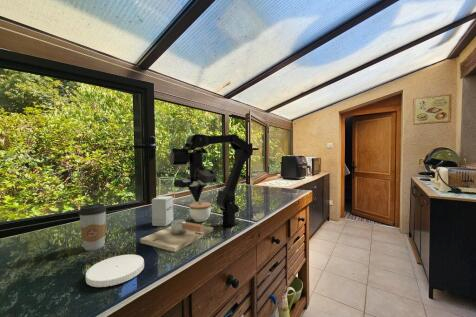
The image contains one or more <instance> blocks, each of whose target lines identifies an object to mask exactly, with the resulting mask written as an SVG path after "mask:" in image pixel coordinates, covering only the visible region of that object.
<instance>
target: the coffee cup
mask: <svg viewBox="0 0 476 317" xmlns="http://www.w3.org/2000/svg"><path fill="white" fill-rule="evenodd" d="M106 214H107V206H106V205H105V204H104V203H93V204H87V205H83V206H80V209H79V211H78V215H79V220H80V222H79V223H80V230H81V239H82V245H83V249H84V250H85V251H87V252H88V251H96V250H99V249H101V248H103V247H104V246H105V245H106V244H105V241H106V228H107V227H106V226H107V225H106V224H107V223H106V221H107V220H106V219H107V218H106V216H107V215H106Z"/></svg>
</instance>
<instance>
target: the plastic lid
mask: <svg viewBox="0 0 476 317" xmlns="http://www.w3.org/2000/svg"><path fill="white" fill-rule="evenodd" d="M144 268H145V260H144V258H143V257H142V256H141V255H138V254H121V255H116V256H111V257H108V258H106V259H104V260H100V261H99V262H97V263H95V264H93V265H92V266H91V267H89V268H88V269H87V270H86V273H85V282H86V284H87V285H89V286H90V287H95V288H106V287H109V286H110V287H112V286H115V285H120V284H122V283H125V282H127V281H129V280H131V279H133V278H135V277H137V276H139V274H140V273H142V271H143V270H144Z"/></svg>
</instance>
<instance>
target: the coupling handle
mask: <svg viewBox="0 0 476 317" xmlns="http://www.w3.org/2000/svg"><path fill="white" fill-rule="evenodd" d="M170 226H171V234H173V235H180V234H184V233H186V229H187V230H192V231H197V232H202V231H204V226H205V225H204V224H199V223H193V222H188V221H187V220H186V219H180V218H178V219H175V220H174V219H173V221H171V223H170Z"/></svg>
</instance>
